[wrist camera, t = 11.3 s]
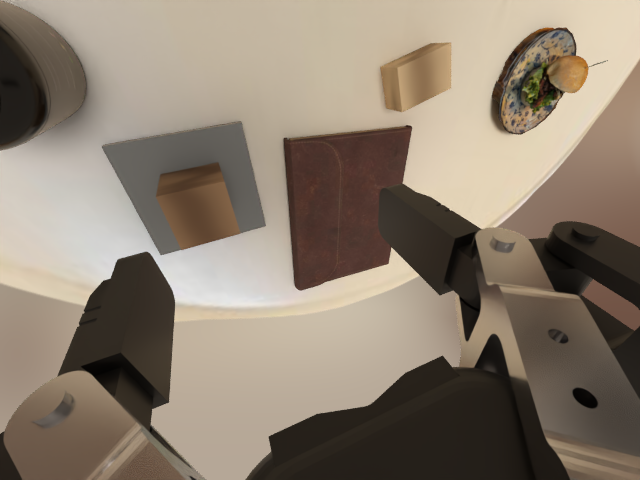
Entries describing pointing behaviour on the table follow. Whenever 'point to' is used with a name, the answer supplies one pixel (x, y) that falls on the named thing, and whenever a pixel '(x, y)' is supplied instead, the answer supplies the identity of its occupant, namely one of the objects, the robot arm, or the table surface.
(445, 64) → the oak block
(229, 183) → the coaster
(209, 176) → the walnut block
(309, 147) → the notebook
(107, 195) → the table surface
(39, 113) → the supplement bottle
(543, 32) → the burger
